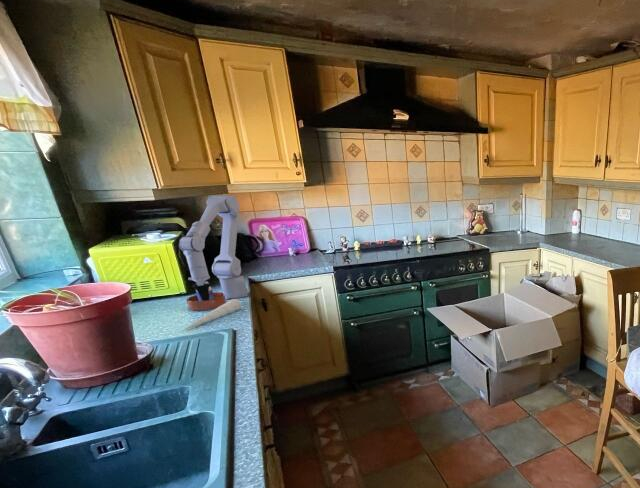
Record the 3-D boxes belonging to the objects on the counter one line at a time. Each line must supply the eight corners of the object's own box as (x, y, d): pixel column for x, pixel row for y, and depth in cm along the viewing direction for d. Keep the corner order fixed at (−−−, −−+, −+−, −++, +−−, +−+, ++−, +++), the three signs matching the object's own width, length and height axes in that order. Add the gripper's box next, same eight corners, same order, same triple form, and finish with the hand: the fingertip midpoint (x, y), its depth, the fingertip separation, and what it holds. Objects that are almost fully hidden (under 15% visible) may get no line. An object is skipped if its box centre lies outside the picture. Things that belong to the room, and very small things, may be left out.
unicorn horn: (177, 329, 151) (173, 317, 150) (234, 309, 173) (231, 297, 171) (187, 330, 150) (183, 318, 149) (243, 310, 172) (240, 298, 170)
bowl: (226, 299, 184) (224, 290, 183) (226, 307, 174) (224, 298, 173) (190, 304, 178) (187, 295, 176) (188, 313, 168) (185, 303, 166)
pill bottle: (207, 307, 173) (201, 284, 169) (196, 306, 174) (190, 283, 170) (219, 303, 178) (213, 281, 174) (208, 302, 179) (202, 280, 175)
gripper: (186, 264, 174) (195, 295, 179) (183, 271, 162) (193, 304, 167) (207, 262, 177) (215, 292, 182) (205, 268, 166) (214, 301, 171)
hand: (206, 298), depth 175 cm, fingers closed on pill bottle, 5 cm apart
